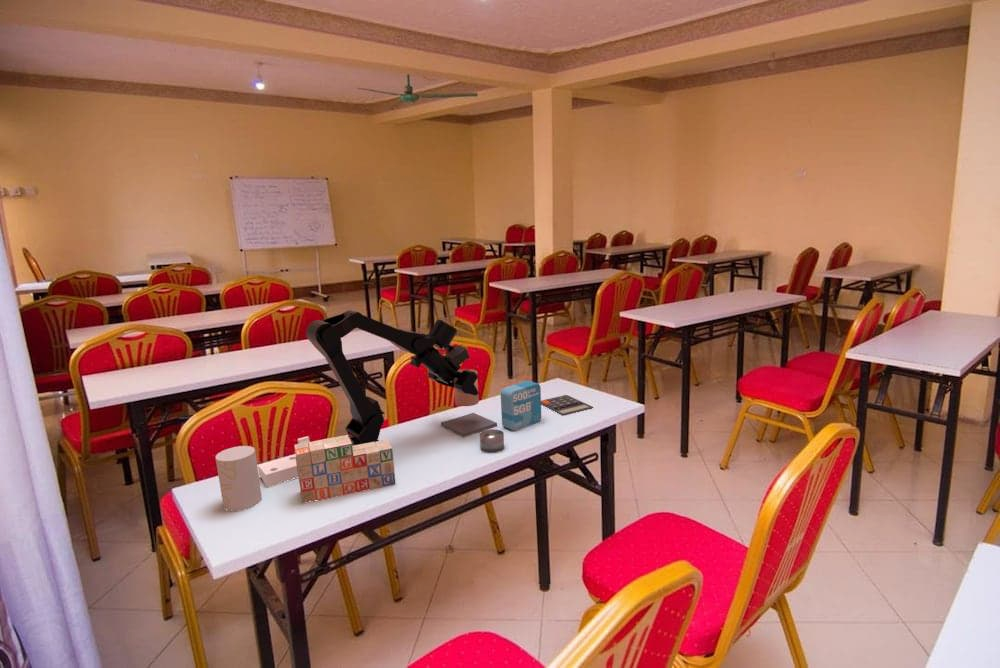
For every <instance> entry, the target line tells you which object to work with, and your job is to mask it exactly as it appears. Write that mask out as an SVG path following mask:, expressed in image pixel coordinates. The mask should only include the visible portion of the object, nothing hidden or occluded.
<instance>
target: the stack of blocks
mask: <svg viewBox="0 0 1000 668" xmlns="http://www.w3.org/2000/svg"><path fill="white" fill-rule="evenodd" d="M294 451H295V455H296V464H297V471H298V477H299V478H298V482H299V488H300V489H299V490H300V496H301V502H302V503H304V504H306V503H305V502H309V501H313V502H316V501H315V500H319V501H323V500H322V499H324V500H328V499H327V498H329V499H333V498H332V497H334V498H337V497H336V496H338V497H342V496H341V495H343V496H346V495H345V494H347V495H349V494H350V493H351V494H354V493H355V492H356V493H360V492H364V491H363V490H365V491H369V490H374V489H379V488H382V487H383V486H384V487H389V486H392V485H396V473H395V463H394V455H393V448H392V446H391V444H390V443H389V441H388V439H383V440H379V441H376V442H370V443H365V444H359V445H354V446H352V443H351V441H350V437H349V435H348V434H345V435H340V436H334V437H328V438H324V439H320V440H314V441H310V442H306V443H301V444H298V443H297V444H294ZM388 485H389V486H388ZM378 487H379V488H378ZM373 488H374V489H373ZM368 489H369V490H368ZM351 494H350V495H351ZM309 503H310V502H309Z"/></svg>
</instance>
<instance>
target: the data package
mask: <svg viewBox="0 0 1000 668" xmlns="http://www.w3.org/2000/svg"><path fill="white" fill-rule="evenodd" d="M541 388H542V387H541V385H540V384H539V383H537V382H534V381H531V380H525V381H522V382H519V383H516V384H513V385H509V386H506V387H503V388H502V389H501V391H500V408H501V425H502V426H503V427H504V428H506V429H509V430H512V431H513V432H514V431H518V430H521V429H523V428H526V427H529V426H531V425H534V424H537V423H538V422H541V419H542V405H541V400H542V394H541Z"/></svg>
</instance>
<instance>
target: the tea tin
mask: <svg viewBox="0 0 1000 668" xmlns="http://www.w3.org/2000/svg"><path fill="white" fill-rule="evenodd" d="M504 437H505V435H504V432H503V431H502V430H500V429H492V428H490V429H487V430H484V431H481V432H479V445H480V446H479V447H480V450H481V452H483V453H486V454H487V453H488V454H495V453H499V452H501V451H502V452H503V450H504V449H505V438H504Z"/></svg>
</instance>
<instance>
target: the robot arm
mask: <svg viewBox="0 0 1000 668" xmlns="http://www.w3.org/2000/svg"><path fill="white" fill-rule="evenodd" d="M355 329H358V330H360V331H363V332H366V333H368V334H371V335H373V336H376V337H379V338H381V339H384V340H386V341H388V342H390V343H391V344H392V345H393V346H395V347H397V348H398V349H400V350H401V351H402V352H406V353H409V354H412V355H413V356H410V366H413V367H415V368H420V366H421V365H422V366H424V368H426V369H427V370H428V372H427V375H428V377H427V378H429V380H431V381H432V382H435V383H438V384H440V385H443V386H445V387H449V388H453V389H455V388H456V389H457V390H458V391H460V392H462V393H465V394H472V395H476V396H477V394H478V395H479V390H478V391H477V389H476V387H475V385H474V383H475V381H476V380H477V378H479V374H478V375H477V374H476V373H475V372H473V371H471V370H472V369H468V368H467V369H462V370H463V372H462V373H461V372H458V371H459V370H461V368H462V366H461V365H462V364H463V363H464V362H465V361H467V360H469V359H470V358H471V355H470V353H469V351H468V349H467V347H465V346H462V345H454V346H453V345H451V343H452V341H453V340H454V339H455V337H456V336H457V334H458V330H457V329H456V328H455V327H454V326H451V325H450V324H449V323H447V322H445V321H444V320H442V319H439V318H438V319H437V320H436V321H435V323H434V325H433V327H432V328H431V329H430V330H429V332H428V334H426V333H419V332H415V331H411V330H407V329H402V328H396V327H394V326H391V325H388V324H386V323H383V322H381V321H380V320H376V319H374V318H371V317H368V316H367V315H365V314H362V313H361V312H359V311H356V310H352V309H348V310H347V311H345V312H342V313H340V314H336V315H333V316H330V317H327V318H325V319H323V320H320V319H318V320H317V319H316V320H314V321H311V322H310V323H309V324H308V326H307V328H306V330H305V335H306V338H307V339H308V340H309V342H310V343H311V344H312V346H313V347H314V348H315V349H316V350H317V351H318V352H319V353H320V354H321V355H322V356H323V357H324V358H325V360H326V362H327V363H328V365H329V367H330V369H331V371H332V373H333V374H334V376H335V378H336V380H337V382H338V383H339V385H340V387H341V389H342V391H343V393H344V394H345V396H346V398H347V400H348V401H349V402H348V403H349V409H350V414H351V417H352V418H351V420H350V421H349V422H348V423H347V425H346V426H345V427H344V428H345V432H346V433H347V435H348V436H350V437H349V439H350V441H351V443H352V446H354V445H359V444H365V443H370V442H376V441H380V440H379V438H380V434H381V433H380V432H381V429H382V426H383V425H384V422H385V418H384V415H385V414H386V413H385V412H384V411H383V410H382V409H381V405H380V403H379V401H378V400H376V399H374V398H372V397H370V396H367V395H366V393H365V391H364V390H363V387H362V386H361V384H360V382H359V380H358V378H357V377H356V374H355V373H354V371H353V369H352V366H351V365H350V363H349V361H348V359H347V357H346V355H345V354H344V351H343V342H342V338H344V337H346V336H347V335H349V334H350V332H352V331H354V330H355ZM442 349H444V350H445V351H444V352H445V353H444V354H445V355H444V354H443V353H441V352H440V351H442ZM454 379H455V380H457V381H456V382H455V387H454Z"/></svg>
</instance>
